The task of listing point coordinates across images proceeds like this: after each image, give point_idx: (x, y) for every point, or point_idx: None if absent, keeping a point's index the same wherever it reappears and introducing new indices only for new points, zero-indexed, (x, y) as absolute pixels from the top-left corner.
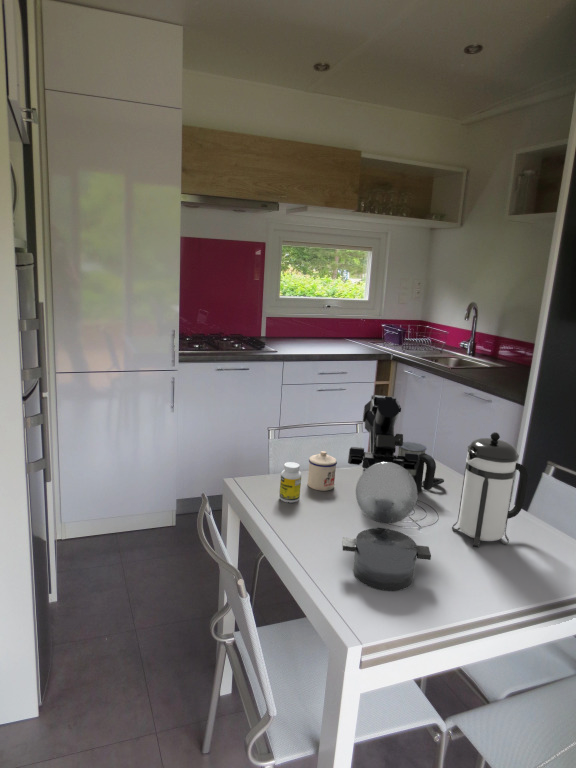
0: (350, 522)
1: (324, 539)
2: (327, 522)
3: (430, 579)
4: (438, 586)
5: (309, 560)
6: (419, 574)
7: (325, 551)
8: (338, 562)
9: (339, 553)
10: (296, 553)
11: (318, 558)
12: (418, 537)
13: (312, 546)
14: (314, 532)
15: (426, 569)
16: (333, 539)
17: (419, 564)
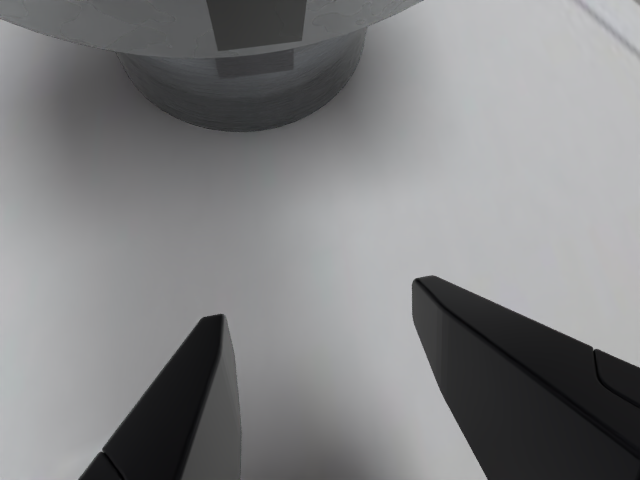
0: None
1: (551, 201)
2: None
3: (39, 44)
4: None
5: (541, 19)
6: (84, 64)
7: (508, 101)
8: (430, 41)
9: (447, 106)
10: (609, 48)
11: (515, 43)
12: (49, 440)
13: (575, 121)
14: (623, 251)
15: (46, 111)
16: (512, 217)
17: (76, 141)
